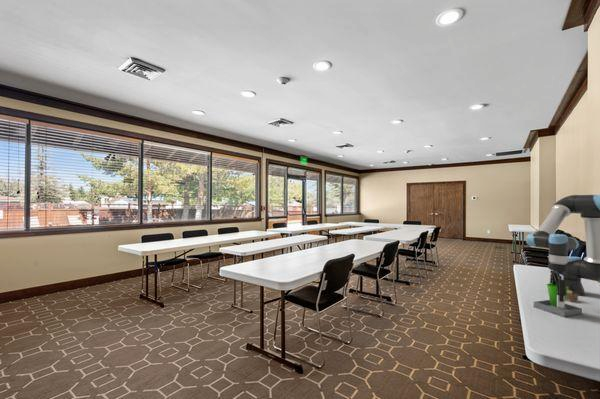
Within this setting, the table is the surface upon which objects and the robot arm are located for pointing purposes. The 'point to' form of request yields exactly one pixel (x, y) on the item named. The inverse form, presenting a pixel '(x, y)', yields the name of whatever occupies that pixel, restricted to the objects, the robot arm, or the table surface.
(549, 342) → the table surface
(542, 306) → the tray
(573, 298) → the block
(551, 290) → the cup
